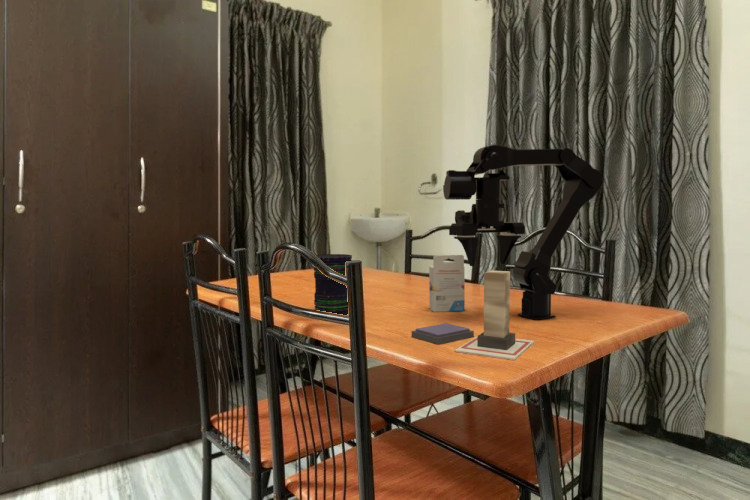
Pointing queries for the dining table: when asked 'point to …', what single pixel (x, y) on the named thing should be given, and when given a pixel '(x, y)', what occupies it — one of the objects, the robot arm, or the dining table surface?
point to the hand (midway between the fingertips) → (487, 265)
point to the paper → (497, 353)
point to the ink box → (447, 284)
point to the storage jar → (331, 286)
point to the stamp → (496, 312)
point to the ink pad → (442, 333)
